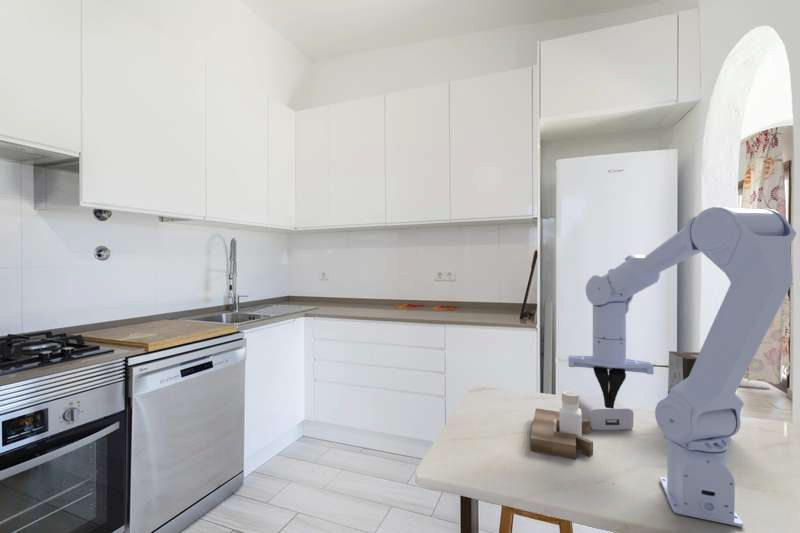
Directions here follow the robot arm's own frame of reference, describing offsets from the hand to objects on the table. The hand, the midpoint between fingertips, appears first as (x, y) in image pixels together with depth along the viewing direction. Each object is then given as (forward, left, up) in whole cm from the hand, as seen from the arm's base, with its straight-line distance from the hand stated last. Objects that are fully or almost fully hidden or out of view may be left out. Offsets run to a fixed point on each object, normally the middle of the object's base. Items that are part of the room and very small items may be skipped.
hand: (608, 406), depth 76 cm
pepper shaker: (0, +7, -8) cm, 11 cm away
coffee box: (+16, -18, -8) cm, 26 cm away
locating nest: (0, +9, -8) cm, 12 cm away
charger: (+15, +2, -8) cm, 18 cm away
